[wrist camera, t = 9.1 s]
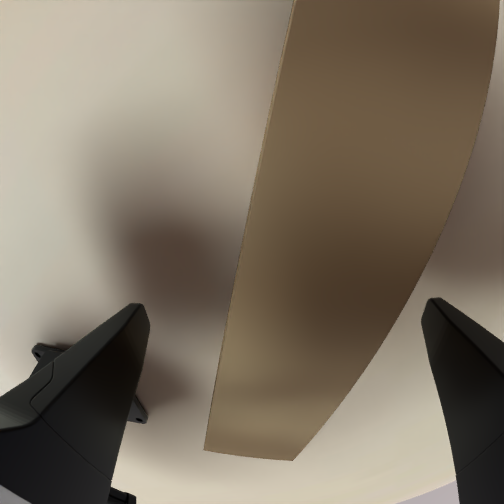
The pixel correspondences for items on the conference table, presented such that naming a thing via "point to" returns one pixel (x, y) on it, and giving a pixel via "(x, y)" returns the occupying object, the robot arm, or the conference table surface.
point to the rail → (345, 205)
